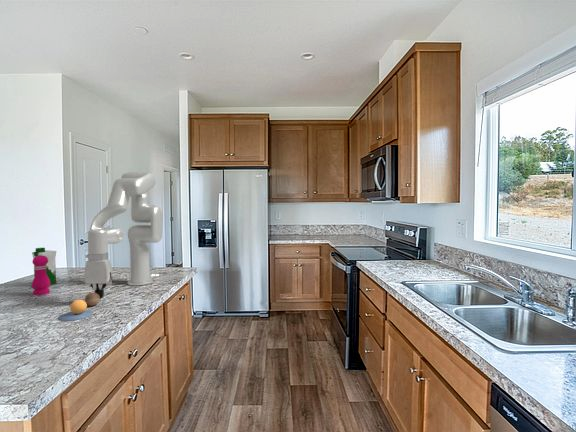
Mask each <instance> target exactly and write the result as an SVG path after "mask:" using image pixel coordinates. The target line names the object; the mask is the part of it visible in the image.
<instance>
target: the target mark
mask: <svg viewBox="0 0 576 432" xmlns="http://www.w3.org/2000/svg"><path fill="white" fill-rule="evenodd" d="M92 314H93V312H92V311H90V310H85V311H84V312H83V313H81V314H74V313H72V312H67V313H63V314H61V315H59V316H58V317H57V320H58V321H60V320H61V322H71V321H72V320H73V321H78V319H79V320H82V318H83V319H86V318H87V317H90V316H92ZM73 321H72V322H73Z"/></svg>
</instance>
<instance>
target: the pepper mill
mask: <svg viewBox="0 0 576 432" xmlns="http://www.w3.org/2000/svg"><path fill="white" fill-rule="evenodd" d="M47 263H48V258H47V257H46V256H42V253H41V252H40V253H38V256H36V257H35V258H34V259H32V265H33V270H34V269H35V277H33V279H32V282H31V288H32V289H33V291H32V294H33V295H32V296H43V295H48V294H49V293H50V288H49V287H50V286H51V285H50V280H49V278H48V276H47V274H46V268H47V265H46V264H47ZM34 265H35V266H34Z"/></svg>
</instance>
